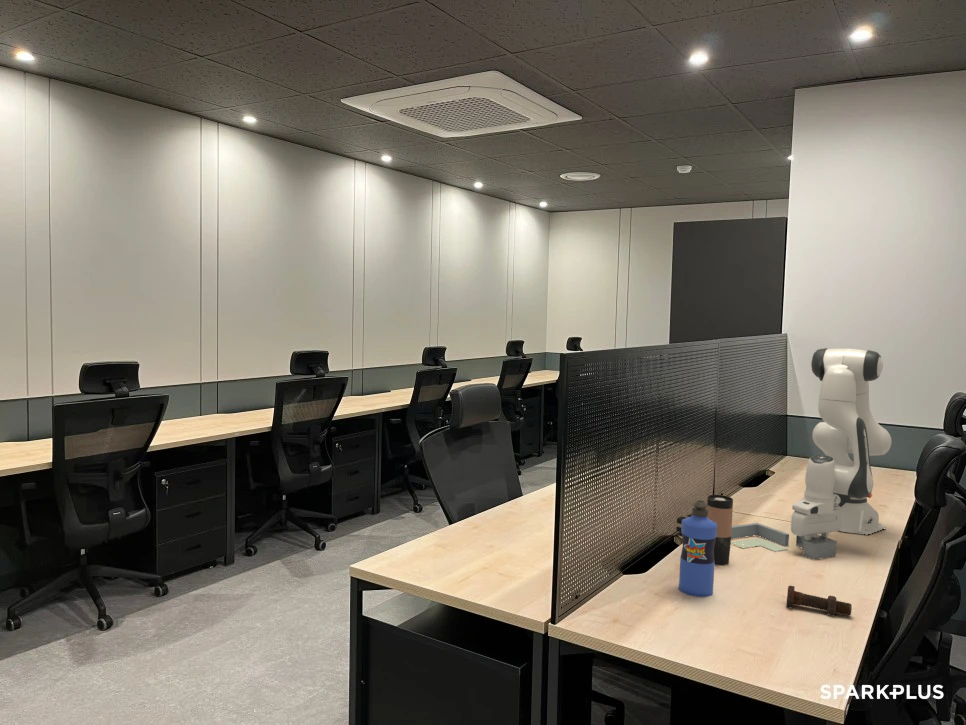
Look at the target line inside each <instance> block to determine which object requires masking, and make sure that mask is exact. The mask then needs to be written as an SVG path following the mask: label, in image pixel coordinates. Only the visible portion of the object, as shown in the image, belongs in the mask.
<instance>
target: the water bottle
mask: <svg viewBox="0 0 966 725" xmlns="http://www.w3.org/2000/svg"><path fill="white" fill-rule="evenodd" d="M692 505H693V507H692V509H691V514H693V515H692V516H691V517H686V518H685V519H683V520H682V524H681V526H680V527H681V533H682V537H681V539H682V540H681V541H682V542H681V543H682V548H681V555H680V559H679V561H680V562H679V575H678V576H679V577H678V590H679V592H682V593H683V594H685V595H688V596H691V597H698V598H700V597H701V598H705V597H710V596H712V595H713V594H714V580H715V579H714V578H715V565H716V564H715V561H714V545H715V540H716V537H717V524H716V523H715V522H713V521H712V520H710V519H708V517H707V516H708V509H707V507H708V506H707V503H706V502H705V501H704V500H697V501H695V502H694V503H693V504H692Z"/></svg>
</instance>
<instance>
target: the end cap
mask: <svg viewBox="0 0 966 725" xmlns="http://www.w3.org/2000/svg"><path fill="white" fill-rule="evenodd" d="M692 515H693V514H692V513H690V514H686V517H685V516H679V517H677V518H676V524H679V525H682V520H683V519H685V518H689V517H691V516H692ZM681 527H682V526H676V528H675V530H676V531H675V532H676V536H678V537H681V538H682V533H681Z"/></svg>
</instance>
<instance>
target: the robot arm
mask: <svg viewBox="0 0 966 725" xmlns="http://www.w3.org/2000/svg"><path fill="white" fill-rule="evenodd" d="M883 364H884V362H883V360H882V356H881V355H880V353H879V352H877V351H875V350H871V349H870V350H869V349H867V350H865V349H858V348H848V347H847V348H826V347H824V348H819V349H817V350H815V351H814V353H813V354H812V357H811V359H810V367H811V371H812V373H813V375H814V376H815V377H817V378H818V379H819V381H820V382H821V385H820V388H819V397H818V405H817V407H818V414H819V417H820V418H821V419H822V421H820V422H818V423H817V424H816V425H815V427H814V428H813V430H812V435H811V436H812V440H813V442H814V444H815V446H816V447H817V448H819V449H820V450H821V451H822V453H823V454H815V455H812V456H810V457H809V459H808V461H807V465H806V471H805V478H804V482H805V491H804V493H803V494H804V495H803V497H802V498H801V499H799V500H798V501H795V502H794V503H792V506H791V507H792V508H791V510H792V511H793V512H792V515H791V520H790V532H791V533H792V534H793V535H794V536H796V537H797V536H804V537H805V540H812V539H811V538H812V536H813V535H815V534H817V535H820V536H823V537H826V538H829V535H830V534H829V533H834V532H843V533H849V534H857V535H864V534H865V535H864V536H869V535H868V534H870V535H872V533H873V534H875V533H874V532H876V533H878V532H877V531H879V530H882V529H884V528H886V526H885V525H884V524H882V523H880V522H879V517H880V516H879V513H878V512H879V511H877V510H876V509H875V508H874V507H873V506H872V505H871V504H870V503H869V502H868V499H867V498H869V499H872V497H873V492H872V491H873V489H874V488H873V487H874V480H873V474H872V467H871V461H870V459H871V458H870V457H872V456H884V455H886V454H887V453H888V452H889V451H890V449H891V446H892V443H893V442H892V437H891V435H890V433H889V432H888V430H887V429H886V428H884V427H883V426H882V425H880V424H879V423H878V422H877V421H876V419H875V418H874V416H873V414H872V412H871V409H870V408H871V407H870V394H869V393H870V391H869V390H870V389H869V388H870V385H869V384H870V383H869V382H872V381H876V380H877V379H879V377H880V376H881V374H882V371H883V368H884V365H883ZM849 454H852V455H853V460H852V459H851V458H850V457H849ZM886 529H887V528H886ZM882 531H883V530H882ZM879 532H880V531H879Z"/></svg>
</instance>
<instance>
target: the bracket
mask: <svg viewBox="0 0 966 725" xmlns="http://www.w3.org/2000/svg"><path fill="white" fill-rule="evenodd" d="M811 539H812V540H805V537H804V536H797V535H796V541H795V546H796V547H797V546H799V547H798V548H800V547H802V548H804V549H803V555H804V556H803V557H805V556H807V557H806V558H808V557H809V558H808V559H810V558H811V560H813V559H817V560H821V559H820V558H823V559H828V558H827V557H829V558H834V557H836V556H837V555H836V553H837V544H838V543H837V541H838V540H834V539H832V538H829V537H828V538H826V537H823V536H821V534H815V535H813V536H812V538H811ZM802 548H801V549H802Z"/></svg>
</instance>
